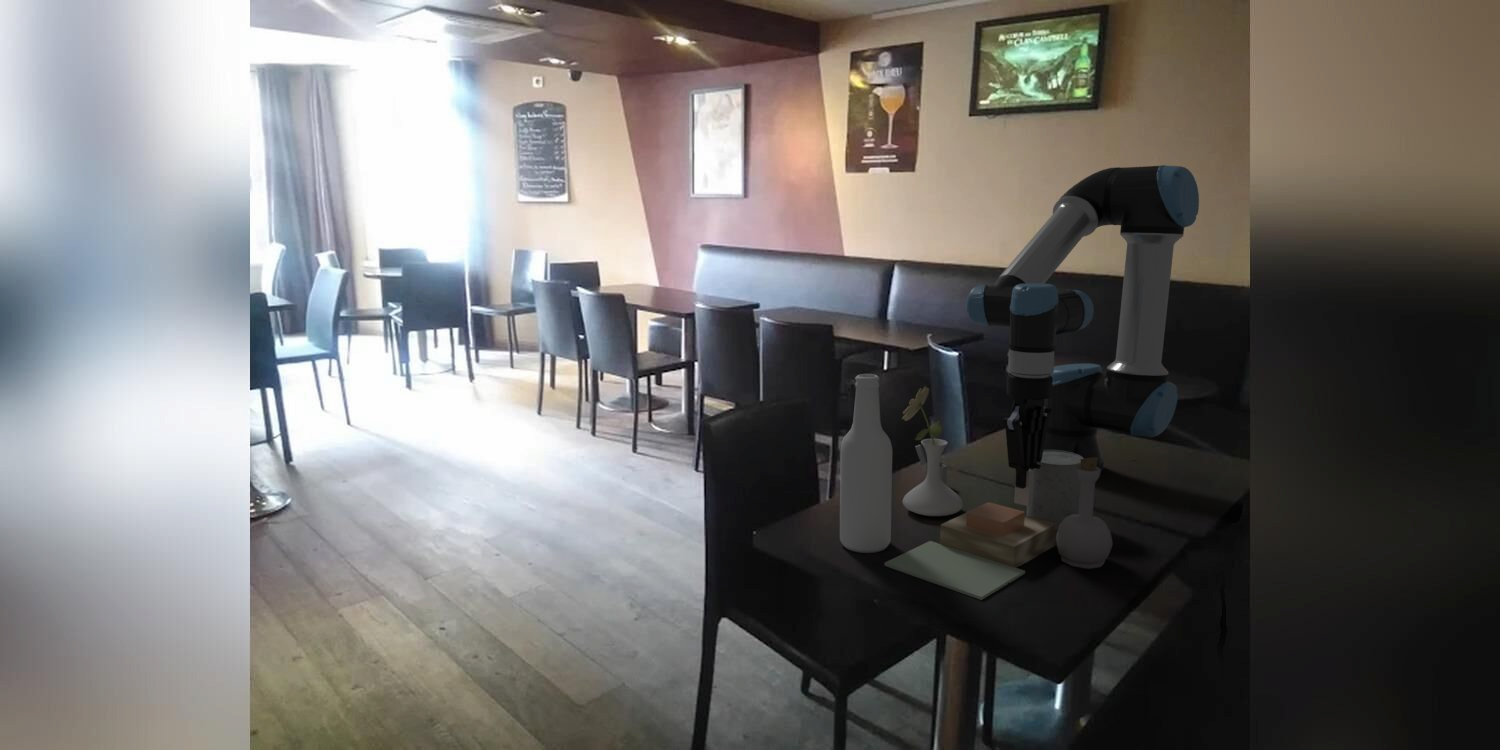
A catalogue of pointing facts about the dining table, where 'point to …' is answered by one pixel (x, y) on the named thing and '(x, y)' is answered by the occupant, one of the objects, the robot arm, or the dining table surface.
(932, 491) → the flower in vase
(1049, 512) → the white cylinder
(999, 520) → the terracotta tile
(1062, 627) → the dining table surface
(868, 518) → the alcohol
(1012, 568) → the rubber mat
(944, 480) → the lighter
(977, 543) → the birch board
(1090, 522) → the potion bottle
